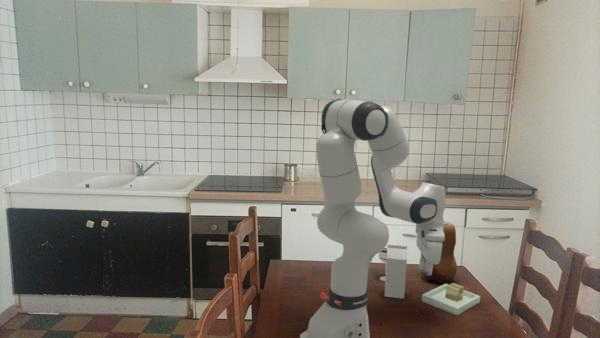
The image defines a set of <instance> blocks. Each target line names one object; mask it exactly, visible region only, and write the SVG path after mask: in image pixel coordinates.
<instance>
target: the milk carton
mask: <svg viewBox="0 0 600 338" xmlns="http://www.w3.org/2000/svg"><path fill="white" fill-rule="evenodd" d="M386 246H387V247H386V248H387V260H386V264H385V270H386V277H385V281H384V297H387V298H394V299H405V289H406V276H407V262H408V246H407V245H406V246H405V245H395V244H387V245H386Z"/></svg>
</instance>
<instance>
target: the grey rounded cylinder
mask: <svg viewBox="0 0 600 338" xmlns="http://www.w3.org/2000/svg"><path fill="white" fill-rule="evenodd" d="M425 265H426V259H425V258H424V257H421V256H420V257H419V267H418V273H419V274H420V275H422V276H426V275H432V269H433V264H432V266H431V271H430V272H429V271H426V270H425Z"/></svg>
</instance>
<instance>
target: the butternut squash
mask: <svg viewBox="0 0 600 338" xmlns="http://www.w3.org/2000/svg"><path fill="white" fill-rule="evenodd" d="M443 232H444V235H445V240H444V241H442V252H441V259H440V262H439V264H433V269H432V275H425V276H426V277H427V278H428V279H430V280H433V281H435V282H437V283H443V284H445V283H446V282H448V281H451V280H453V279H454V278H455V276H456V275H457V269H458V266H457V260H456V258H455V256H454V255H455V249H456V248H455V247H456V243H457V230H456V226H455V225H454V224H453V223H452V222H449V221H446V220H444V222H443Z"/></svg>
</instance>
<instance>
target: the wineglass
mask: <svg viewBox="0 0 600 338" xmlns="http://www.w3.org/2000/svg"><path fill="white" fill-rule="evenodd" d="M378 257H379V260H380V261H381V262H382V263H384V265H386V260H387V247H385V248H384V249H383V250H382V251H381V252H379V253H378ZM385 277H386V269H385V275H383V276H380V277H379V280H381V281H384V282H385Z"/></svg>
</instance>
